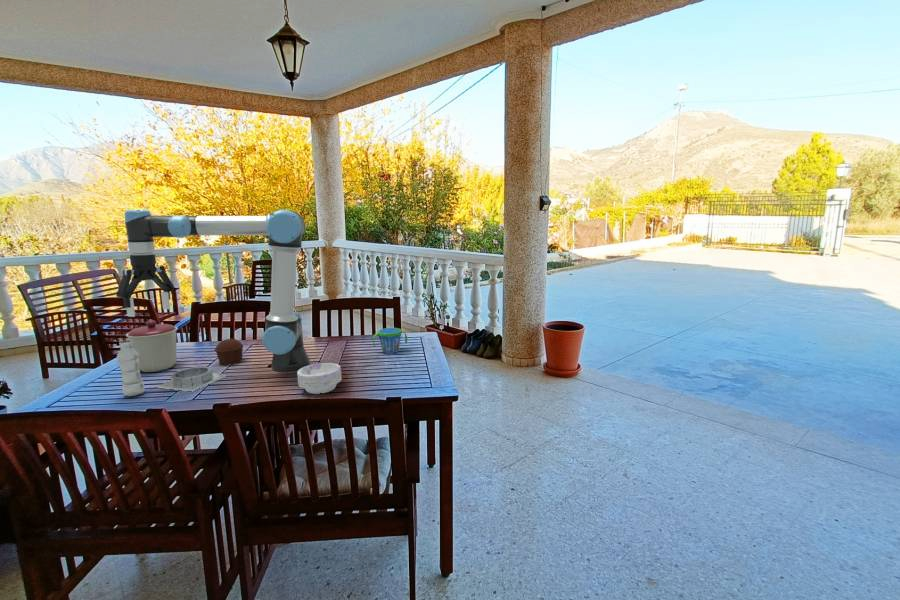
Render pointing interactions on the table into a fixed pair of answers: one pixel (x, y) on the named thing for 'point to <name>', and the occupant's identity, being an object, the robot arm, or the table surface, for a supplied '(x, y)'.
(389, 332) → the snack cup
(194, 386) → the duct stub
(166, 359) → the canister
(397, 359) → the table surface
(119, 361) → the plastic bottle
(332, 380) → the paper bowls
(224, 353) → the muffin
